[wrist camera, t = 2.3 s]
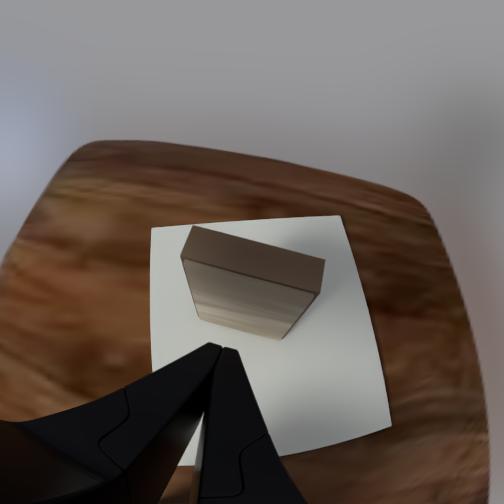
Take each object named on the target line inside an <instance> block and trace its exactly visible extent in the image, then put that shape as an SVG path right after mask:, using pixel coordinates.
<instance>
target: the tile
mask: <svg viewBox="0 0 504 504" xmlns="http://www.w3.org/2000/svg"><path fill="white" fill-rule="evenodd" d="M180 258H181V261H182V265H183V268H184V272H185V275H186V279H187V282H188V285H189V289H190V292H191V295H192V299H193V302H194V305H195V308H196V312H197V315H198V317H199V319H200V320H204V321H207V322H210V323H214V324H217V325H221V326H224V327H228V328H231V329H235V330H239V331H242V332H246V333H250V334H254V335H258V336H261V337H265V338H269V339H273V340H277V341H280V340H281V339H283V338H284V337H285V336H286V335H287V333H288V332H289V331H290V330H291V329H292V327H293V326H294V325H295V324H296V323H297V321H298V320H299V319H300V318H301V317H302V315H303V314H304V313H305V312H306V310H307V309H308V308H309V307H310V305H311V304H312V303H313V302H314V300H315V299H316V298H317V297H318V295H319V294H320V292H321V286H322V280H323V273H324V267H325V259H321V258H317V257H314V256H310V255H306V254H302V253H299V252H295V251H291V250H287V249H284V248H280V247H276V246H272V245H269V244H265V243H261V242H257V241H253V240H249V239H246V238H242V237H238V236H234V235H230V234H226V233H222V232H219V231H215V230H211V229H207V228H203V227H199V226H195V225H193V226H192V228H191V230H190V233H189V235H188V237H187V240H186V242H185V245H184V247H183V249H182V252H181V254H180Z"/></svg>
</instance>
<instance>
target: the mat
mask: <svg viewBox="0 0 504 504" xmlns="http://www.w3.org/2000/svg"><path fill="white" fill-rule="evenodd" d="M193 225H195V226H199V227H203V228H207V229H211V230H215V231H219V232H222V233H226V234H230V235H234V236H238V237H242V238H246V239H249V240H253V241H257V242H261V243H265V244H269V245H272V246H276V247H280V248H284V249H287V250H291V251H295V252H299V253H302V254H306V255H310V256H314V257H317V258H321V259H325V267H324V273H323V280H322V286H321V292H320V294H319V295H318V297H317V298H316V299H315V300H314V302H313V303H312V304H311V305H310V307H309V308H308V309H307V310H306V312H305V313H304V314H303V315H302V317H301V318H300V319H299V320H298V321H297V323H296V324H295V325H294V326H293V327H292V329H291V330H290V331H289V332H288V333H287V335H286V336H285V337H284V338H283V339H281V340H280V341H277V340H273V339H269V338H265V337H261V336H258V335H254V334H250V333H246V332H242V331H239V330H235V329H231V328H228V327H224V326H221V325H217V324H214V323H210V322H207V321H204V320H200V319H199V317H198V315H197V312H196V308H195V305H194V302H193V299H192V295H191V292H190V289H189V285H188V282H187V279H186V275H185V272H184V268H183V265H182V261H181V258H180V254H181V252H182V249H183V247H184V245H185V242H186V240H187V237H188V235H189V233H190V230H191V228H192V226H193ZM193 225H181V226H169V227H158V228H152V232H151V258H150V326H151V352H152V369H153V372H154V371H156V370H158V369H160V368H162V367H164V366H166V365H167V364H169V363H171V362H173V361H175V360H177V359H179V358H180V357H182V356H184V355H186V354H188V353H190V352H191V351H193V350H195V349H197V348H199V347H200V346H202V345H204V344H206V343H208V342H212V343H215V344H218V345H221V346H222V347H229V348H233V349H236V350H238V352H239V354H240V357H241V360H242V363H243V365H244V368H245V371H246V374H247V376H248V379H249V382H250V384H251V387H252V390H253V392H254V395H255V398H256V400H257V403H258V406H259V408H260V411H261V413H262V416H263V419H264V421H265V424H266V426H267V429H268V431H269V433H268V434H270V436H271V438H272V441H273V443H274V446H275V448H276V450H277V452H278V455H279V456H284V455H289V454H294V453H299V452H304V451H308V450H313V449H317V448H321V447H325V446H329V445H333V444H337V443H340V442H344V441H347V440H351V439H354V438H357V437H361V436H364V435H367V434H370V433H373V432H376V431H379V430H381V429H384V428H387V427H390V426H392V425H391V418H390V412H389V406H388V400H387V394H386V388H385V383H384V378H383V373H382V368H381V363H380V358H379V354H378V349H377V345H376V340H375V336H374V332H373V327H372V323H371V319H370V315H369V311H368V307H367V304H366V300H365V296H364V292H363V289H362V285H361V282H360V278H359V275H358V271H357V268H356V264H355V261H354V258H353V254H352V251H351V248H350V245H349V242H348V239H347V235H346V232H345V229H344V226H343V223H342V220H341V217H340V216H318V217H298V218H280V219H263V220H248V221H233V222H219V223H206V224H193ZM203 414H204V413H203ZM202 419H203V416H202ZM202 419H201V421H200V423H199V425H198V427H197V429H196V431H195V433H194V435H193V437H192V439H191V441H190V443H189V445H188V447H187V448H186V450H185V452H184V454H183V456H182V458H181V460H180V462H179V464H178V466H187V465H195V460H196V454H197V448H198V442H199V436H200V430H201V424H202Z"/></svg>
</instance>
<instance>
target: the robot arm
mask: <svg viewBox="0 0 504 504" xmlns="http://www.w3.org/2000/svg"><path fill="white" fill-rule="evenodd" d="M203 413H204V414H203ZM202 416H203V419H202ZM201 419H202V424H201V430H200V436H199V442H198V448H197V454H196V460H195V466H194V472H193V479H192V485H191V492H190V498H189V504H308V503H307V502H306V500H305V499H304V497H303V496H302V494H301V493H300V491H299V490H298V488H297V486H296V485H295V483H294V482H293V480H292V479H291V477H290V475H289V473H288V472H287V470H286V468H285V466H284V465H283V463H282V461H281V459H280V457H279V455H278V452H277V450H276V448H275V446H274V443H273V441H272V438H271V436H270V434H268V433H269V431H268V429H267V426H266V424H265V421H264V419H263V416H262V413H261V411H260V408H259V406H258V403H257V400H256V398H255V395H254V392H253V390H252V387H251V384H250V382H249V379H248V376H247V374H246V371H245V368H244V365H243V363H242V360H241V357H240V354H239V352H238V350H236V349H233V348H229V347H222V346H221V345H218V344H215V343H212V342H208V343H206V344H204V345H202V346H200V347H199V348H197V349H195V350H193V351H191V352H190V353H188V354H186V355H184V356H182V357H180V358H179V359H177V360H175V361H173V362H171V363H169V364H167V365H166V366H164V367H162V368H160V369H158V370H156V371H154V372H152V373H150V374H148V375H146V376H145V377H143V378H141V379H139V380H137V381H135V382H133V383H131V384H129V385H127V386H125V387H124V388H121V389H119V390H117V391H115V392H113V393H110V394H108V395H106V396H104V397H101V398H99V399H97V400H95V401H92V402H89V403H86V404H83V405H81V406H78V407H75V408H72V409H68V410H65V411H62V412H59V413H55V414H52V415H48V416H45V417H41V418H38V419H34V420H29V421H23V422H10V421H3V420H0V504H157V503H158V502H159V500H160V498H161V496H162V494H163V492H164V490H165V489H166V487H167V485H168V483H169V481H170V479H171V477H172V475H173V473H174V472H175V470H176V468H177V466H178V464H179V462H180V460H181V458H182V456H183V454H184V452H185V450H186V448H187V447H188V445H189V443H190V441H191V439H192V437H193V435H194V433H195V431H196V429H197V427H198V425H199V423H200V421H201Z"/></svg>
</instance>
